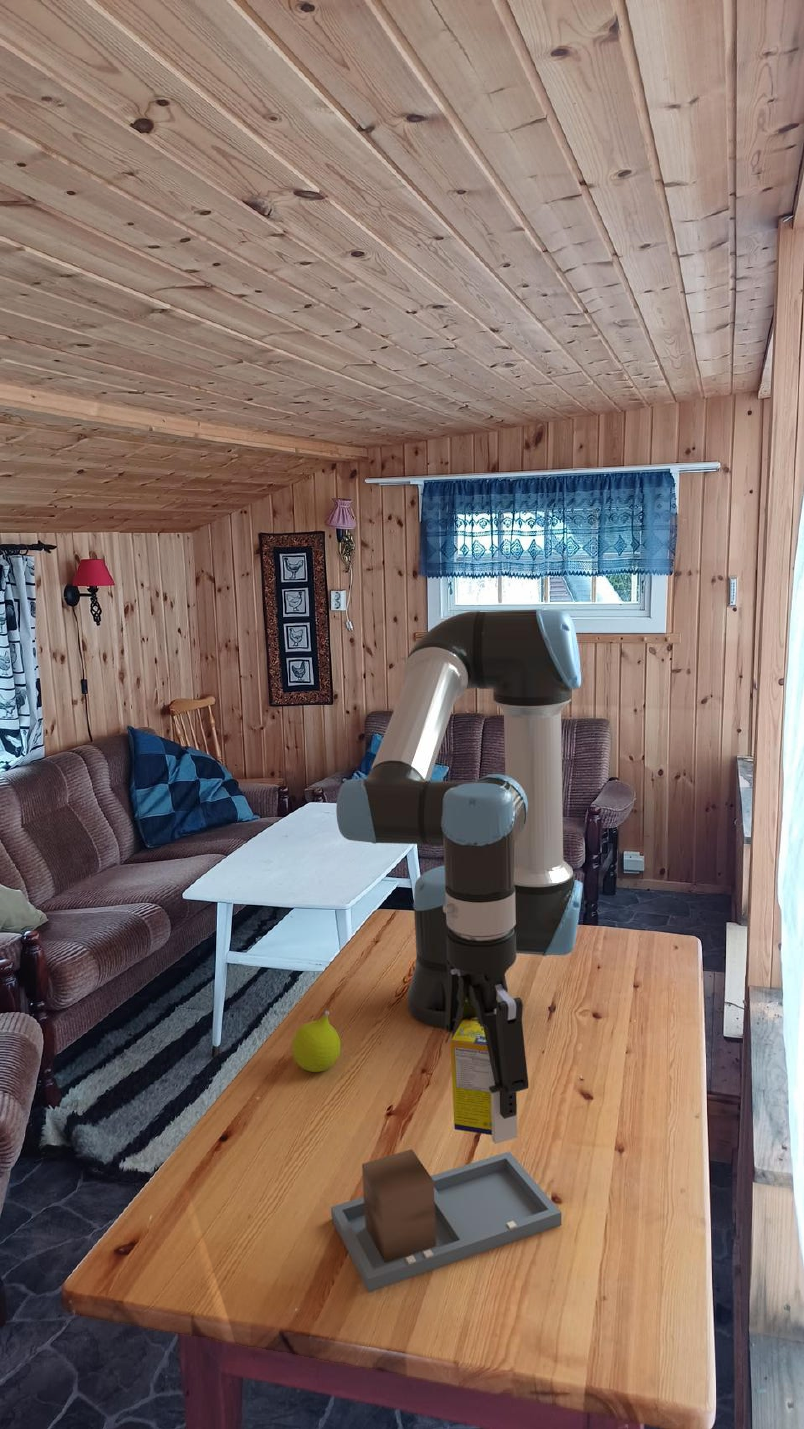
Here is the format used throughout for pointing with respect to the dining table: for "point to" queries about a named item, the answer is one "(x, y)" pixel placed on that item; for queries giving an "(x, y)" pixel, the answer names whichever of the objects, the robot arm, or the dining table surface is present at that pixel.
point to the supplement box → (471, 1078)
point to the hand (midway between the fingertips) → (486, 1116)
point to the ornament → (316, 1045)
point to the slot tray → (456, 1219)
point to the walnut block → (399, 1205)
